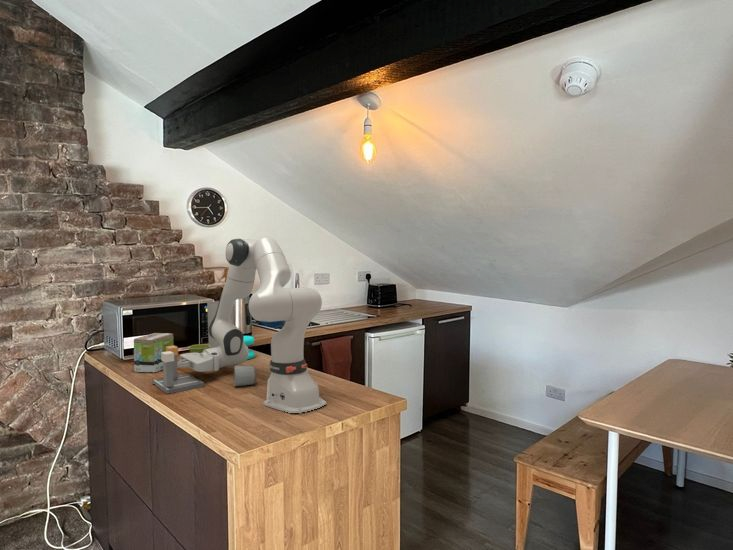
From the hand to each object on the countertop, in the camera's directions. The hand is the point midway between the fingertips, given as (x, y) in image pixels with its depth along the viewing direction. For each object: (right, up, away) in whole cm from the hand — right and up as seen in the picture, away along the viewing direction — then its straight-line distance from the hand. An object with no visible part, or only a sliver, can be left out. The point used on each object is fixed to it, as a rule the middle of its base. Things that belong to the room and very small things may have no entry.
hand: (175, 365), depth 189 cm
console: (+2, -7, -3) cm, 8 cm away
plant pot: (0, -5, +27) cm, 27 cm away
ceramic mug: (+28, -7, -3) cm, 29 cm away
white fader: (+1, -6, -10) cm, 12 cm away
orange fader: (-1, -5, -1) cm, 5 cm away
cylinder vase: (+2, -3, +54) cm, 54 cm away
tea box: (-18, -6, +22) cm, 29 cm away
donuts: (+17, -4, +40) cm, 43 cm away
